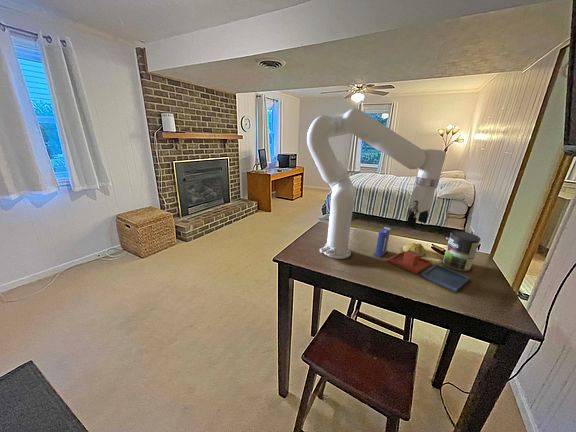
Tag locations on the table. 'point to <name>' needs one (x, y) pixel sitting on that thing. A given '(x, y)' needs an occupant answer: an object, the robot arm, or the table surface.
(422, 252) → the fossil
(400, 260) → the terracotta tray
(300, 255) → the table surface
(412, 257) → the block
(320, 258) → the table surface
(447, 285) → the slate tray
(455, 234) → the coffee can
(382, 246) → the walkman
